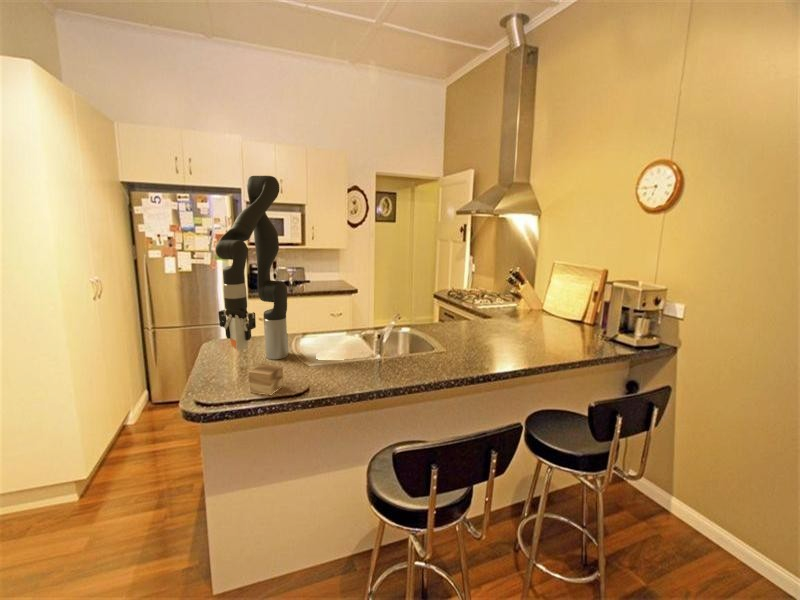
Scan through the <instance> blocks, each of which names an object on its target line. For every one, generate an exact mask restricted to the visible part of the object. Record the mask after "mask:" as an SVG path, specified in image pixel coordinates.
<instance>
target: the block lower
mask: <svg viewBox="0 0 800 600" xmlns="http://www.w3.org/2000/svg"><path fill="white" fill-rule="evenodd" d="M282 386H283V387H284V377H283V378H281V379H279V380H278V381H276V382H275V383H273V384H272V385H270V386H266V385H260V384H254V383H249V391H250V392H254V393H265V394H272V393H273V392H274V391H276V390H277V389H279V388H280V387H282ZM283 387H282V388H283ZM254 393H253V394H254Z"/></svg>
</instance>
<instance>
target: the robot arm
mask: <svg viewBox="0 0 800 600" xmlns="http://www.w3.org/2000/svg"><path fill="white" fill-rule="evenodd" d="M246 189H247V195H248V201H249V206H247V207H246V208H244V209H243V210H242V211H241V212H240V213H239V214H238V215H237V217H236V219H235V220H234V222H233V224H232V225H231V227H230V228H229V229H228V230H227V231H226V232H225V233H224V234H223V235H222V236H221V237H220V238H219V239H218V241H217V242H216V244H215V254H216V255H217V257H218V258H219V259H222V260H230V261H232V263H231V265H229V266H225V267H224V268H222V279H223V281H222V282H223V299H224V301H223V302H224V308H225V309H222V310H219V311H218V321H219V327H220V328H224V331H225V337H226V338H227V339H229V340H230V330H229V325H230V321H231V318H232V317H236V318H238V319H240V318H242V319H244V318H246V322H243V321H242V320H241V319H240V323H241V326H243V328H244V329H245V340H246V341H251V338H252V330H254V329H255V328H256V327H257V324H256V323H257V322H256V313H255V312H248V310H247V309H248V299H247V298H248V296H247V287H246V279H245V278H246V277H245V268H246V263H247V258H248V254H249V249H248V245H247V244H246V242H247V241H249V239H250V238H251V236H252V235H253V236H254V246H255V247H254V248H255V254H256V266H257V270H256V271H257V294H258V298H259V299H260V300H261V301H262V302H264V303H265V302H266V303H273V307H272V308H270V309H267V310H265V311H264V312H263V325H264V327H263V329H264V332H263V333H264V348H265V349H264V350H265V358H266V359H268V360H282V359H285V358H287V357H288V355H289V342H288V341H289V338H288V337H289V336H288V330H287V311H288V287H287V285H286V283H285V281H282V280H272V279H271V268H272V265H273V263H274V261H275V259H276V257H277V256H278V253H279V250H280V244H279V233H278V230H277V228H276V227H275V225H274V224H273V223H272V221H271V220H270V218H269V216H268V215H267V211H268V210H269V208H270V207H271V206H272V204H273V203H274V202H275V201H276V199H277V198H278V196H279V194H280V183H279V181H278V179H277V177H275V176H272V175H252V176H251V175H250V176H249V177H248V179H247V182H246Z"/></svg>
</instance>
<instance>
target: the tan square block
mask: <svg viewBox="0 0 800 600" xmlns="http://www.w3.org/2000/svg"><path fill="white" fill-rule="evenodd" d="M283 368H284V367H283V366H281V365H274V364H273V365H272V364H266V363H262V364H261V365H259V366H257V367H255V368H252V369H251V370H250V371H248V381H249V382H248V383H249V384H250V383H254V384H260V385H266V386H270V385H272V384H273V383H275V382H276V381H278V380H279V379H281V378H283V379H284V374H283V373H284V372H283V371H284V370H283Z"/></svg>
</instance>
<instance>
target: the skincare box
mask: <svg viewBox="0 0 800 600" xmlns="http://www.w3.org/2000/svg"><path fill="white" fill-rule="evenodd" d="M240 319H241V320H242V321H243V322H246V318H244V319H242V318H240ZM240 319H238V318H236V317H232V318H231V321H230V325H229V330H230V339H229V340H230V347H231V348H233V349H234V350H236V351H237V352H238V351H242V350H247V349H249V345H248V344H249V342H248V341H249V340H248V341H246V340H245V329H244V328H243V326H241V323H240Z"/></svg>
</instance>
